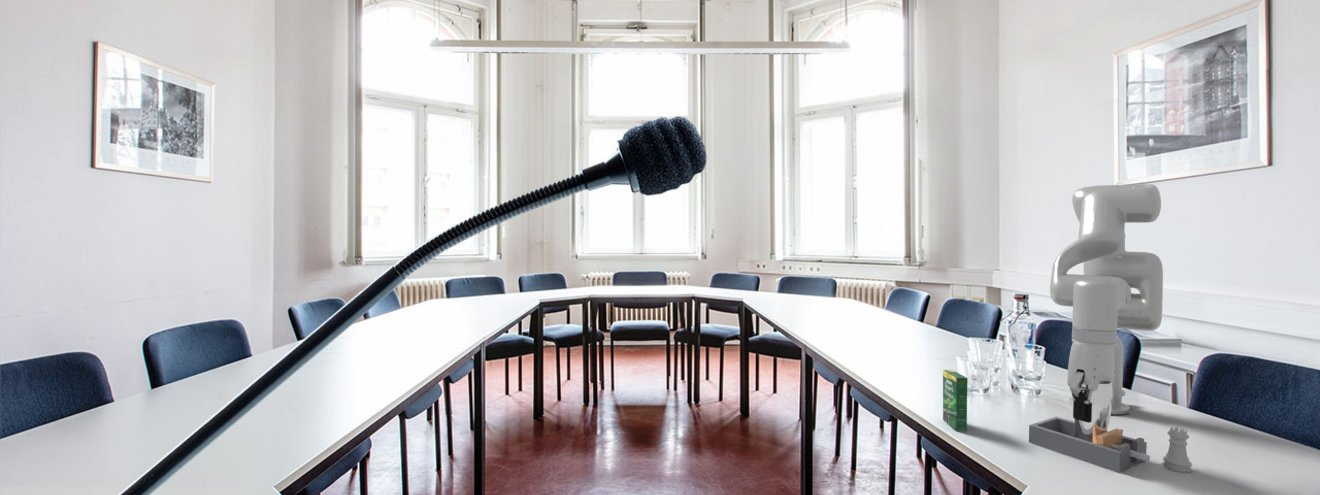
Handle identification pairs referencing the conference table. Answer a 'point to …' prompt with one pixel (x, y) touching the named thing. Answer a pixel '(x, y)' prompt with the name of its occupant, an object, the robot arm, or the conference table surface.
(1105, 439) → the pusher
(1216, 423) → the conference table surface
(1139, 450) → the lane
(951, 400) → the coffee box
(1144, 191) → the robot arm
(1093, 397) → the beer glass
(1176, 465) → the rook chess piece
